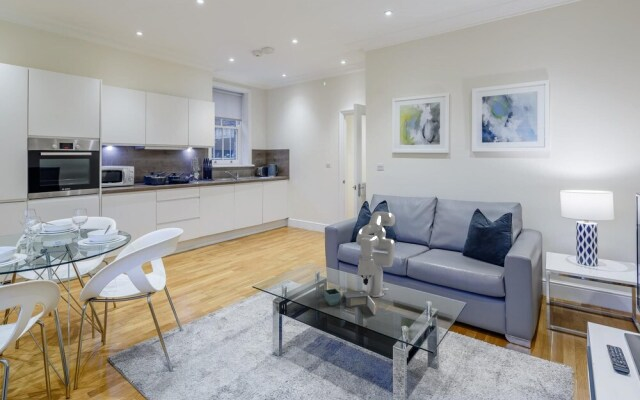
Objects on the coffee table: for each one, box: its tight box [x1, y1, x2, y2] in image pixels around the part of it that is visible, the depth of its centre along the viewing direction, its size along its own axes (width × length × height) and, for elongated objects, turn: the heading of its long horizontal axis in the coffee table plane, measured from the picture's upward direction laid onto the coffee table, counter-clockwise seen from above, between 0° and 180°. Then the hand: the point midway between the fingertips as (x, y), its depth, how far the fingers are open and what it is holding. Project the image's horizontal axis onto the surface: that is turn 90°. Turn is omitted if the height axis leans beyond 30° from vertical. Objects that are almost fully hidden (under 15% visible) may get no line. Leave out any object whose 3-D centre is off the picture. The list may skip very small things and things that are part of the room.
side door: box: [366, 296, 378, 315], centre depth 231 cm, size 14×2×7 cm, turn 11°
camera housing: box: [341, 289, 370, 308], centre depth 240 cm, size 17×9×8 cm, turn 104°
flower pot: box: [323, 288, 341, 307], centre depth 239 cm, size 9×9×9 cm
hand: (365, 284), depth 224 cm, fingers closed
